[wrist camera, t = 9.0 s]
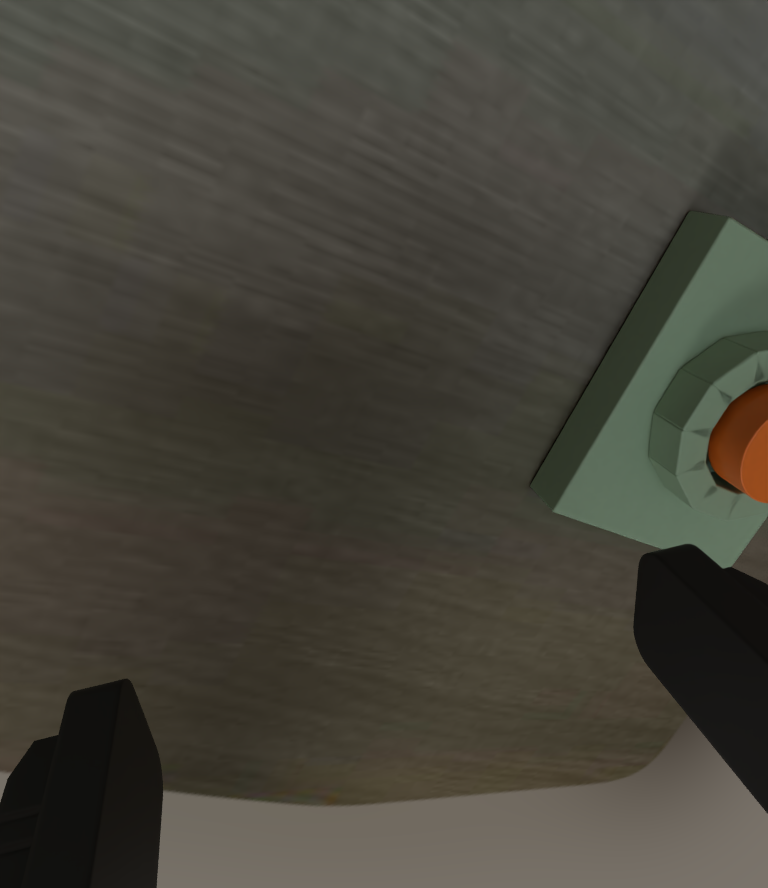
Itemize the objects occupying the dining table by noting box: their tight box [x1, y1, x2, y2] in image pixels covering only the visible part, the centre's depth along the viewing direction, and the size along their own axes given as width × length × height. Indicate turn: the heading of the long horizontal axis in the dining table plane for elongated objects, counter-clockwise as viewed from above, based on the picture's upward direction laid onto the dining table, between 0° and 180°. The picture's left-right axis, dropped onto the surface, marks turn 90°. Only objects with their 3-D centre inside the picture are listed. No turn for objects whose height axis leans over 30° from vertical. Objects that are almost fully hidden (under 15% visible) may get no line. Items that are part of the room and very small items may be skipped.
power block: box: [530, 211, 768, 569], centre depth 26 cm, size 12×10×4 cm
